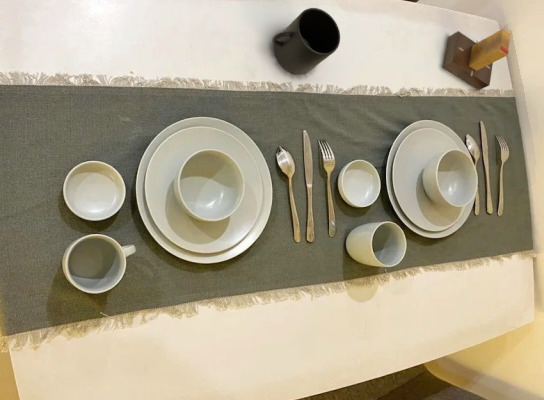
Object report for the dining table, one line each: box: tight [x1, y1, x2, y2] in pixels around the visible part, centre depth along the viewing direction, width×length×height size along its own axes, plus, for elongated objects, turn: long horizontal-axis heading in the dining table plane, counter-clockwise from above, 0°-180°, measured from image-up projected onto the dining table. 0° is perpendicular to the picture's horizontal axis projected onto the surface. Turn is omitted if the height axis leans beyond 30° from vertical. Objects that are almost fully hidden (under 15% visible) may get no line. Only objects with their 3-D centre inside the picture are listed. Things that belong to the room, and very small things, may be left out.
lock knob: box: [469, 28, 511, 71], centre depth 109 cm, size 6×2×8 cm, turn 159°
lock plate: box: [442, 30, 494, 91], centre depth 114 cm, size 12×10×3 cm
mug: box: [271, 7, 341, 76], centre depth 91 cm, size 9×12×9 cm
